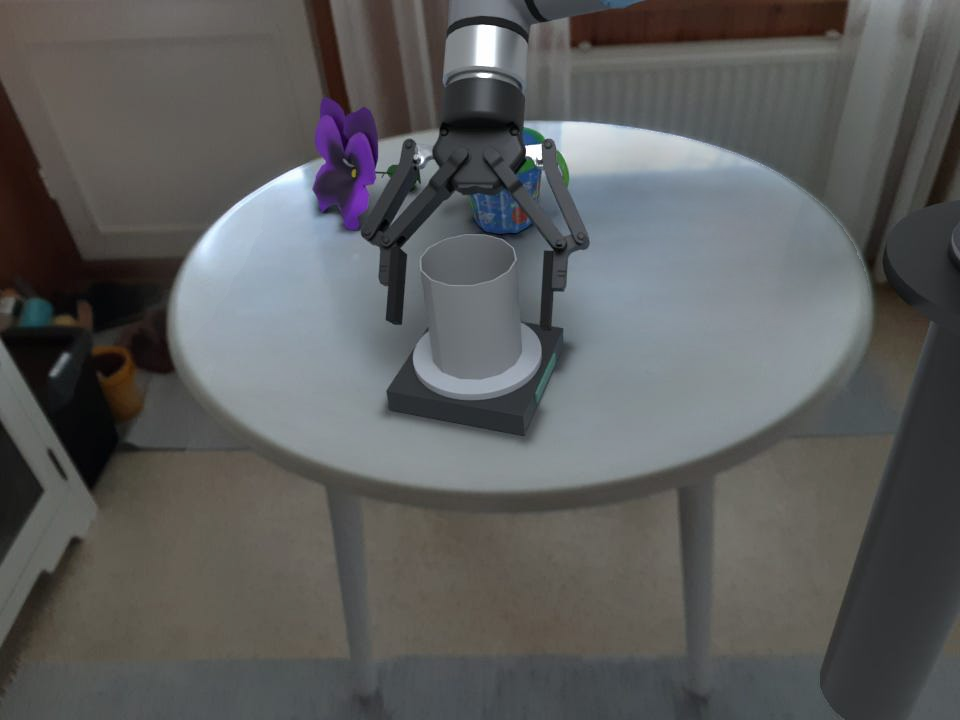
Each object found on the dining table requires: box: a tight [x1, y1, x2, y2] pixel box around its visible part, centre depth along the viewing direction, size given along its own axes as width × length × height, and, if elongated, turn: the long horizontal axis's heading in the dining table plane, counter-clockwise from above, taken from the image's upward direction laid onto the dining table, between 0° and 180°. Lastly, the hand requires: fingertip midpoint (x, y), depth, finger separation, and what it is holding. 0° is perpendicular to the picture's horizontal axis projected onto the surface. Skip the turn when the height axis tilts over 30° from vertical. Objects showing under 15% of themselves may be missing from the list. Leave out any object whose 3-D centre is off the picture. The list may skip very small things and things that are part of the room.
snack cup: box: [437, 126, 570, 235], centre depth 100 cm, size 16×10×10 cm
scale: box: [385, 321, 565, 436], centre depth 79 cm, size 13×13×3 cm
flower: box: [311, 96, 422, 231], centre depth 107 cm, size 15×15×14 cm
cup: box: [419, 233, 522, 380], centre depth 75 cm, size 8×8×10 cm
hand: (468, 326), depth 74 cm, fingers open, 13 cm apart
